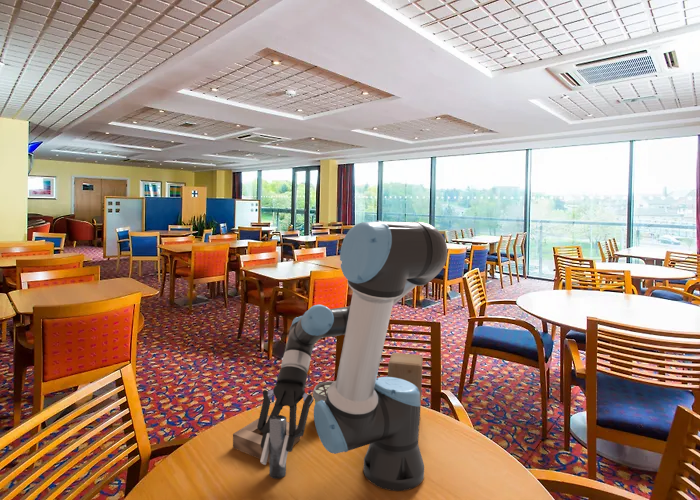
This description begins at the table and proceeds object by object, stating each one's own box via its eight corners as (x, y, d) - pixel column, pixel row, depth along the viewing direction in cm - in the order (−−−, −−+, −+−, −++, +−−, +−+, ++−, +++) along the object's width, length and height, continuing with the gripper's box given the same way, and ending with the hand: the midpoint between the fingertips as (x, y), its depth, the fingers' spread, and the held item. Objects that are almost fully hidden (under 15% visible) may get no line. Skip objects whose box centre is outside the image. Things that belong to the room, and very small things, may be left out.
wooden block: (419, 430, 126) (421, 365, 124) (385, 425, 128) (388, 362, 126) (420, 414, 136) (422, 354, 134) (389, 410, 138) (391, 351, 136)
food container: (316, 408, 138) (317, 379, 137) (335, 410, 137) (335, 380, 136) (307, 427, 126) (308, 395, 125) (328, 429, 125) (328, 397, 124)
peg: (289, 471, 104) (289, 417, 103) (278, 480, 101) (279, 424, 100) (276, 466, 106) (276, 413, 105) (266, 475, 103) (266, 420, 102)
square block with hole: (300, 439, 119) (300, 426, 119) (270, 463, 108) (270, 448, 108) (264, 427, 126) (265, 414, 125) (233, 447, 114) (232, 433, 114)
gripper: (326, 379, 116) (310, 472, 101) (267, 373, 118) (243, 464, 104) (322, 367, 110) (304, 465, 95) (260, 362, 113) (233, 456, 98)
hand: (272, 464), depth 99 cm, fingers closed on peg, 4 cm apart
